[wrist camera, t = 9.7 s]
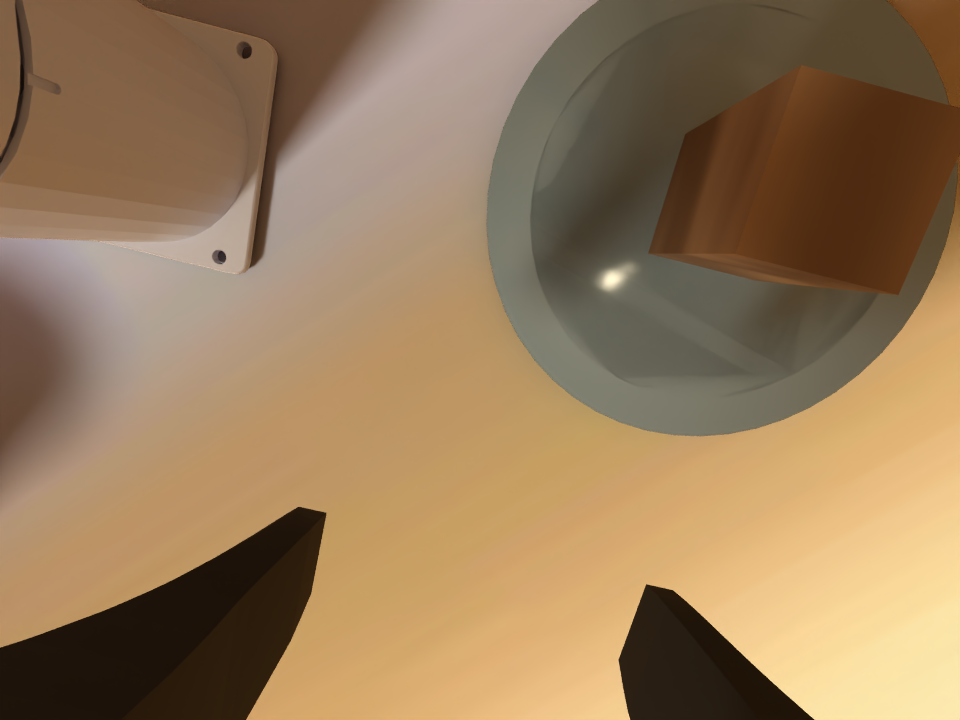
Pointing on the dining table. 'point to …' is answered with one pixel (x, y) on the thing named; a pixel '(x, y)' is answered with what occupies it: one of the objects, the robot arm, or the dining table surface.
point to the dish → (640, 197)
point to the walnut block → (811, 184)
